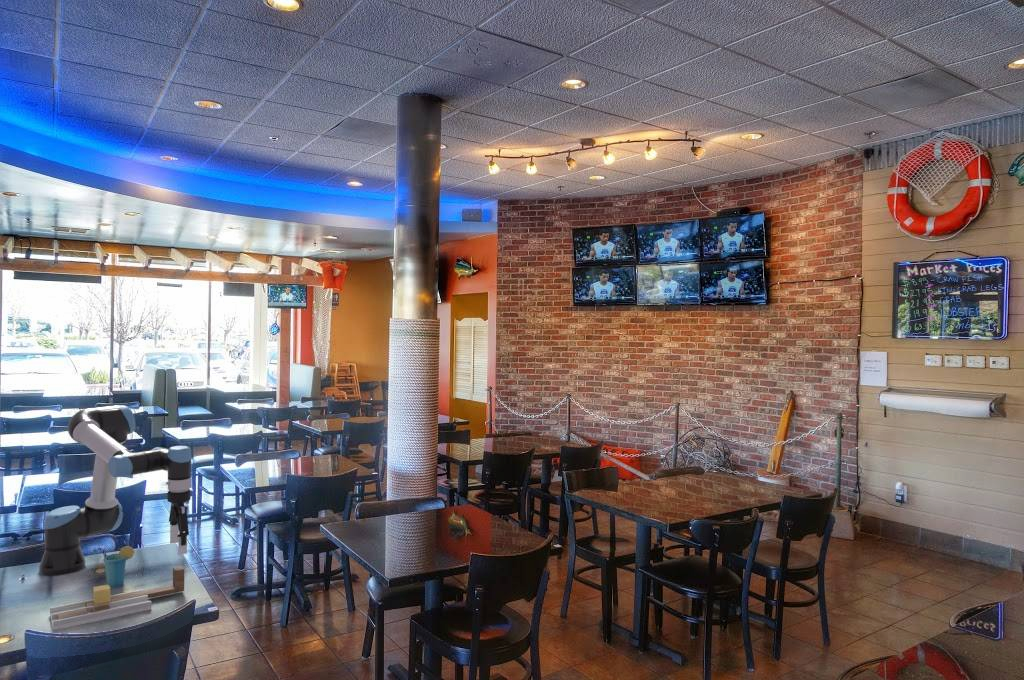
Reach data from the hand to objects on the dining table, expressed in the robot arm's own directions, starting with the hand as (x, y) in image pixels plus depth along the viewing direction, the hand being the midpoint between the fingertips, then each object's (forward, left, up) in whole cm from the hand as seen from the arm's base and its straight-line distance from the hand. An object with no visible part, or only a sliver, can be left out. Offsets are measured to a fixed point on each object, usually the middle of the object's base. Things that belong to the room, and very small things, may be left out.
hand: (178, 548), depth 251 cm
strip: (0, -13, -15) cm, 20 cm away
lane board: (+3, -24, -16) cm, 30 cm away
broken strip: (+6, -30, -15) cm, 34 cm away
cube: (0, -24, -14) cm, 28 cm away
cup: (-20, -18, -17) cm, 32 cm away
